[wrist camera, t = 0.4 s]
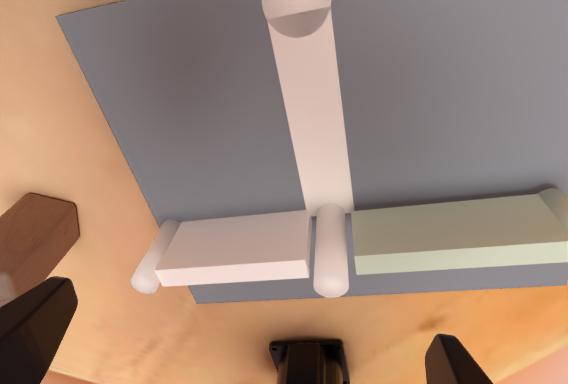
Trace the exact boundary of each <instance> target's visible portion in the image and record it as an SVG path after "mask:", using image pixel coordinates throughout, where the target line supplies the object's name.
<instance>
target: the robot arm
mask: <svg viewBox="0 0 568 384" xmlns="http://www.w3.org/2000/svg"><path fill="white" fill-rule="evenodd" d="M77 304H78V299H77V296H76V293H75V290H74V286H73V283H72V281H71V280H70V279H69V278H64V277H58V276H53V277H50V278H48V279H46V280H45V281H43V282H41V283H40V284H38V285H36V286H35V287H33V288H31V289H30V290H28V291H26V292H25V293H23V294H21V295H20V296H18V297H16V298H15V299H13V300H11V301H10V302H8V303H6V304H5V305H3V306H1V307H0V384H40V383H41V381H42V379H43V378H44V376H45V374H46V372H47V370H48V369H49V367H50V365H51V363H52V361H53V359H54V356H55V354H56V352H57V350H58V348H59V346H60V343H61V341H62V339H63V337H64V335H65V333H66V330H67V328H68V326H69V324H70V322H71V320H72V317H73V315H74V313H75V311H76V308H77ZM269 350H270V353H271V356H272V358H273V361H274V364H275V367H276V369H277V372H278V378H277V384H350V378H349V372H348V367H347V361H346V356H345V350H344V345H343V342H342V341H340V340H321V341H286V342H271V343H270V346H269ZM425 368H426V379H427V384H493V383H492V381H491V380H490V379H489V378H488V376H487V375H486V374H485V373H484V371H483V370H482V369H481V368H480V366H479V365H478V364H477V363H476V361H475V360H474V359H473V357H472V356H471V355H470V354H469V352H468V351H467V350H466V349H465V347H464V346H463V345H462V344H461V342H460V341H459V340H458V339H457V338H456V337H455V336H452V335H446V334H437V335H436V336H435V337H434V339H433V341H432V343H431V345H430V347H429V348H428V350H427V352H426V356H425Z"/></svg>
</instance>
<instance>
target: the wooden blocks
mask: <svg viewBox="0 0 568 384" xmlns="http://www.w3.org/2000/svg"><path fill="white" fill-rule="evenodd" d="M78 238H79V229H78V221H77V213H76V206H75V205H74V204H73V203H70V202H66V201H62V200H58V199H54V198H49V197H45V196H41V195H37V194H33V193H29V194H26V195H25V196H24V197H22V198H21V199H20V200H19V201H18V202H17V203H16V204H14V205H13V206H12V207H11V208H10V209H9V210H7V211H6V212H5V213H4V214H3V215H2V216H1V217H0V307H1V306H3V305H5V304H6V303H8V302H10V301H11V300H13V299H15V298H16V297H18V296H20V295H21V294H23V293H25V292H26V291H28V290H30V289H31V288H33V287H35V286H36V285H38V284H40V283H41V282H43V281H44V280H45V279H46V278H47V277H48V275H49V274H50V273H51V272H52V271H53V269H54V268H55V267H56V266H57V264H58V263H59V262H60V261H61V259H62V258H63V257H64V256H65V255H66V253H67V252H68V251H69V250H70V248H71V247H72V246H73V245H74V244H75V242H76V241H77V240H78Z"/></svg>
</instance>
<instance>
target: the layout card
mask: <svg viewBox="0 0 568 384" xmlns="http://www.w3.org/2000/svg"><path fill="white" fill-rule="evenodd" d="M56 19H57V21H58V23H59V25H60V27H61V29H62V31H63V33H64V35H65V37H66V39H67V41H68V43H69V45H70V47H71V49H72V51H73V53H74V55H75V57H76V59H77V61H78V63H79V65H80V67H81V69H82V72H83V74H84V76H85V78H86V80H87V82H88V84H89V86H90V88H91V90H92V92H93V94H94V96H95V98H96V100H97V102H98V104H99V106H100V108H101V110H102V112H103V114H104V116H105V118H106V120H107V122H108V124H109V126H110V128H111V130H112V132H113V134H114V136H115V139H116V141H117V143H118V145H119V147H120V149H121V151H122V153H123V155H124V157H125V159H126V161H127V163H128V165H129V167H130V169H131V171H132V173H133V175H134V177H135V179H136V181H137V183H138V185H139V187H140V189H141V191H142V193H143V195H144V197H145V199H146V201H147V203H148V206H149V208H150V210H151V212H152V214H153V216H154V218H155V220H156V222H157V224H158V226H159V228H160V229H159V231H158V233H157V234H156V236H155V238H154V240H153V241H152V243H151V245H150V247H149V248H148V250H147V252H146V254H145V255H144V257H143V259H142V261H141V262H140V264H139V266H138V268H137V269H136V271H135V273H134V275H133V276H132V278H131V280H130V283H131V285H132V287H133V288H134V289H135V290H137V291H139V292H141V293H145V294H151V293H154V292H155V291H156V290H157V288H158V286H159V284H160V282H161V284H162V286H163V287H167V286H183V285H188V287H189V289H190V291H191V293H192V295H193V297H194V299H195V301H196V303H197V304H204V303H224V302H243V301H263V300H283V299H303V298H323V297H328V298H335V297H343V296H363V295H382V294H402V293H422V292H442V291H462V290H482V289H502V288H521V287H541V286H561V285H566V284H567V281H568V262H561V263H544V264H528V265H511V266H495V267H479V268H462V269H446V270H429V271H413V272H397V273H380V274H364V275H357V274H356V267H355V259H354V245H353V232H352V218H351V211H360V210H371V209H382V208H392V207H403V206H414V205H425V204H435V203H446V202H457V201H467V200H478V199H489V198H499V197H510V196H521V195H531V194H538V193H540V192H541V191H543V190H546V189H550V188H556V189H559V190H561V191H562V192H563V193H564V194H565V195H566V196H567V197H568V0H125V1H120V2H116V3H112V4H107V5H103V6H98V7H94V8H90V9H85V10H81V11H76V12H72V13H68V14H63V15H59V16H56Z"/></svg>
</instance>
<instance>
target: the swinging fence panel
mask: <svg viewBox="0 0 568 384" xmlns="http://www.w3.org/2000/svg"><path fill="white" fill-rule="evenodd" d="M351 218H352V232H353V245H354V259H355V267H356V274H357V275H364V274H380V273H397V272H413V271H429V270H446V269H462V268H479V267H495V266H511V265H528V264H544V263H561V262H568V197H567V196H566V195H565V194H564V193H563V192H562V191H561V190H559V189H556V188H550V189H546V190H543V191H541V192H540V193H538V194H531V195H521V196H510V197H499V198H489V199H478V200H467V201H457V202H446V203H435V204H425V205H414V206H403V207H392V208H382V209H371V210H360V211H351Z"/></svg>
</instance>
